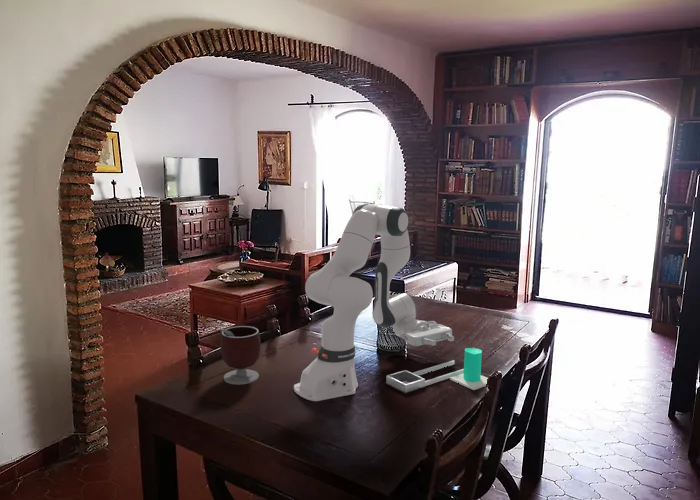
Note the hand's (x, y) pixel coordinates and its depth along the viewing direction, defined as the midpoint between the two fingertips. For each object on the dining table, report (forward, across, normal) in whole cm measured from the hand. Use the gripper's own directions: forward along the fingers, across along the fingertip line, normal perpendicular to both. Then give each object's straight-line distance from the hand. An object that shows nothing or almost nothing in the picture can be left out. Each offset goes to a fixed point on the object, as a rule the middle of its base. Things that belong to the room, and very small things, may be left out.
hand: (443, 341), depth 202 cm
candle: (+13, +2, +11) cm, 17 cm away
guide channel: (+2, -4, +11) cm, 12 cm away
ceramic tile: (+13, +1, +11) cm, 18 cm away
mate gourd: (-36, -65, +13) cm, 76 cm away
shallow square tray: (+2, -21, +12) cm, 24 cm away
